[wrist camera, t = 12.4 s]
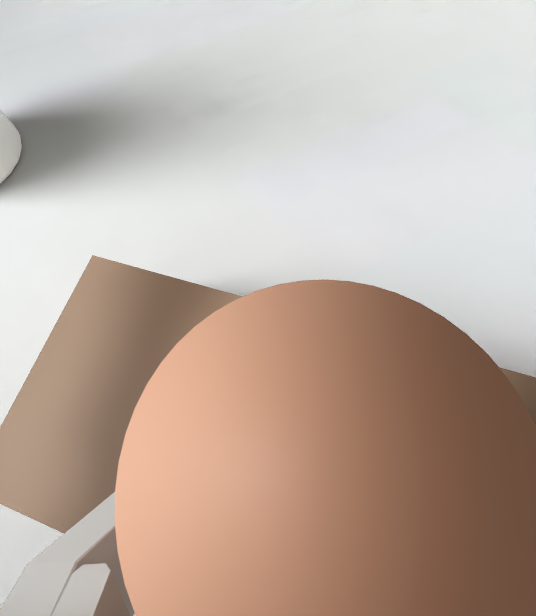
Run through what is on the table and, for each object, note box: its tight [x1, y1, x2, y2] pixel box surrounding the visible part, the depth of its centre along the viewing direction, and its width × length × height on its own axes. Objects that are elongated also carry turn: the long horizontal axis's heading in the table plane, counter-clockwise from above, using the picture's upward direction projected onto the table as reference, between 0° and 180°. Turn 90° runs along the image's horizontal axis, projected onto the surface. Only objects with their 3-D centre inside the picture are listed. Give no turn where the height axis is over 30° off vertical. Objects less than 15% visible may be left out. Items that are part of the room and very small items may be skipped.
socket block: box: [0, 256, 536, 534], centre depth 14 cm, size 21×9×5 cm, turn 72°
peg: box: [115, 280, 536, 616], centre depth 9 cm, size 4×4×12 cm
